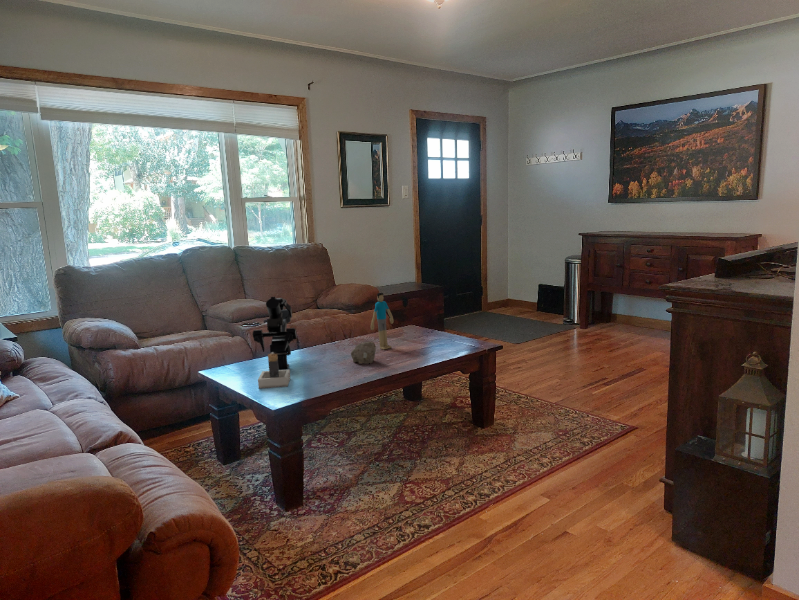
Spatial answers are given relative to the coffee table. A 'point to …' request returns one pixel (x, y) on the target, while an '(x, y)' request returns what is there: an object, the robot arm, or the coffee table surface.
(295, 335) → the robot arm
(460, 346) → the coffee table surface
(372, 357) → the rock
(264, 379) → the bin
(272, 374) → the cell
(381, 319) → the figurine
